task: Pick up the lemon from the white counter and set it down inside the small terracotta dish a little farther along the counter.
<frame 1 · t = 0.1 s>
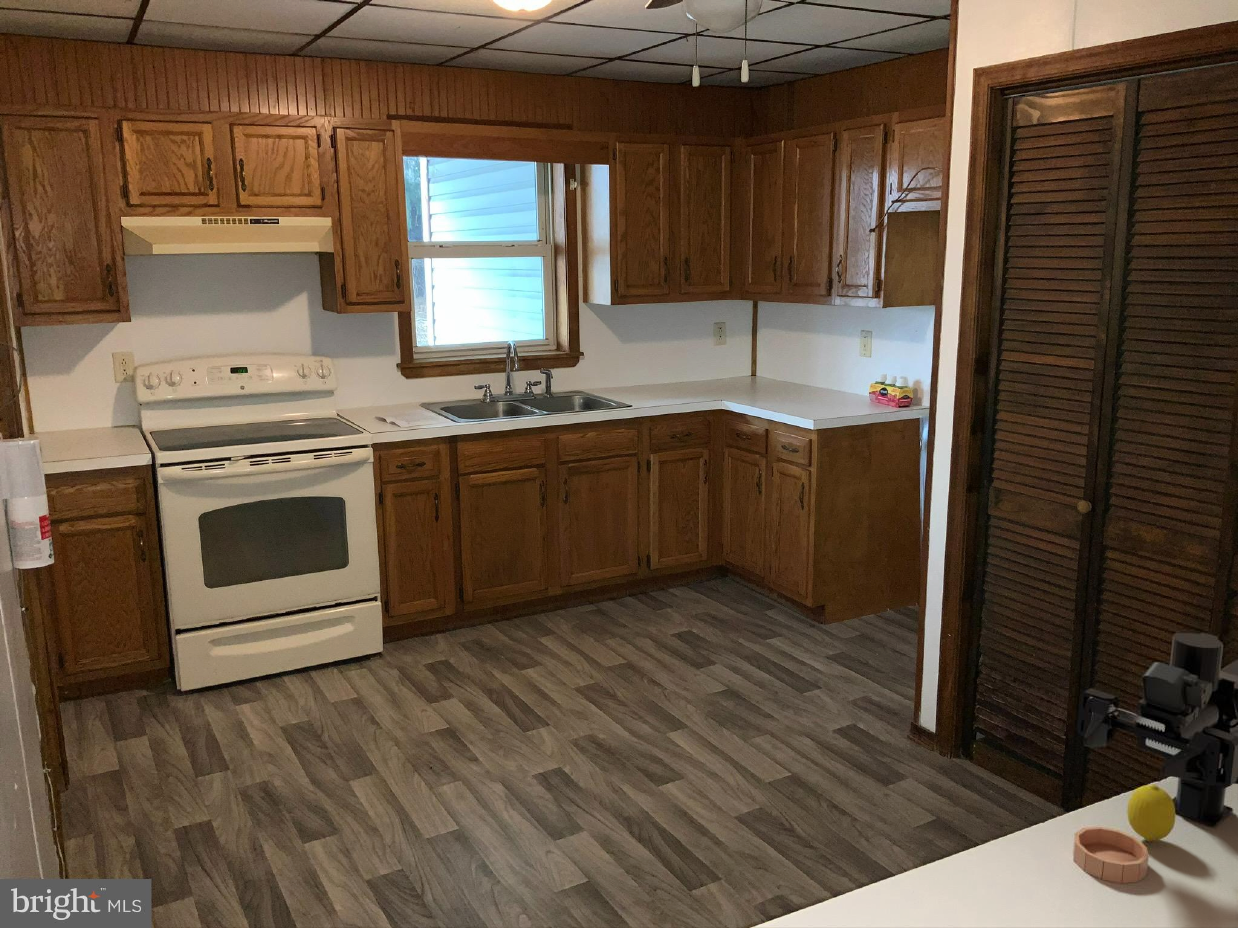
hand: (1122, 755, 121), 17 cm above the countertop, tool horizontal, fingers open, 9 cm apart
dish: (1109, 862, 127), on the countertop
lemon: (1148, 841, 132), on the countertop
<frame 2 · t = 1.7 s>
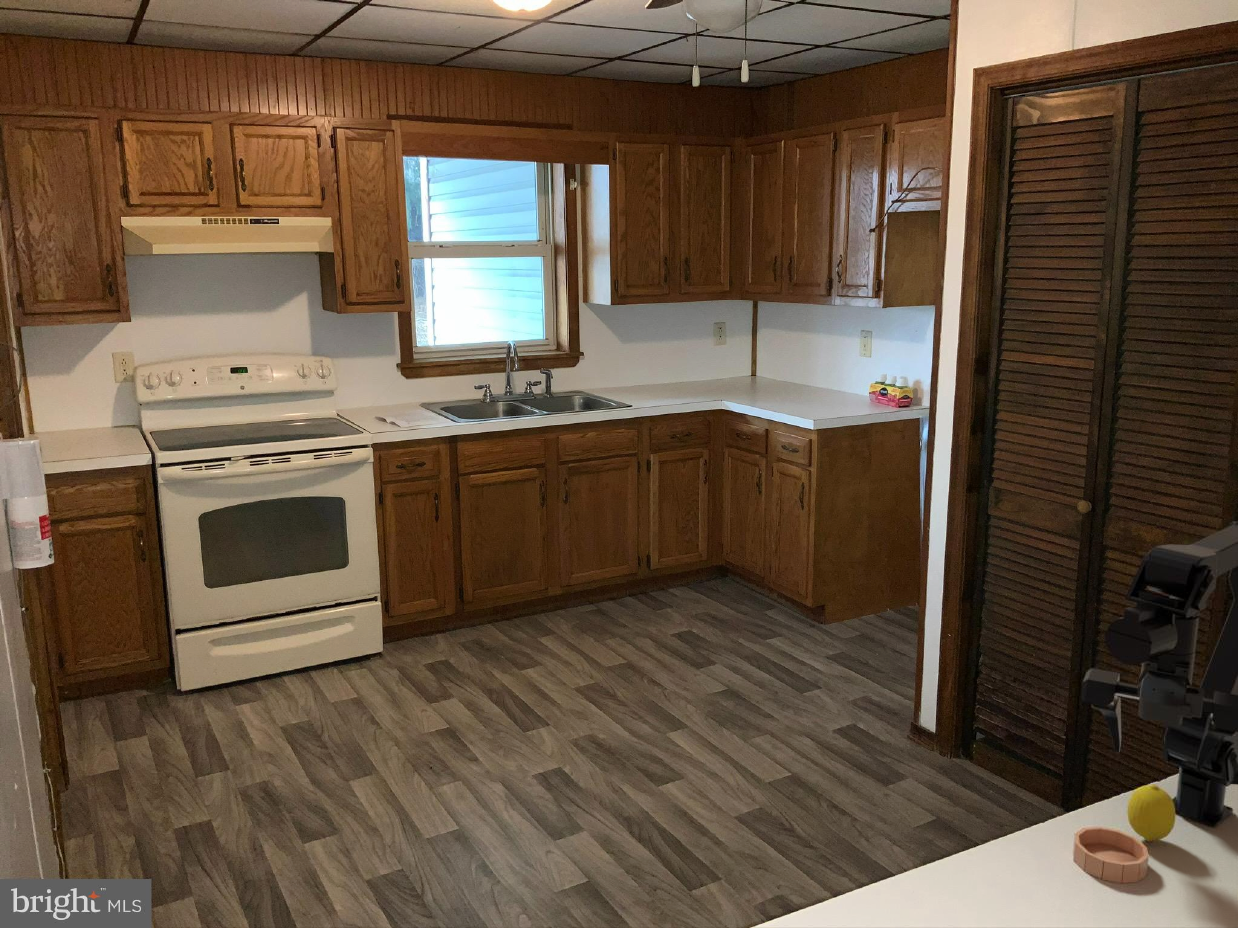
hand: (1157, 760, 130), 11 cm above the countertop, tool pointing down, fingers open, 9 cm apart
nothing on the countertop moved.
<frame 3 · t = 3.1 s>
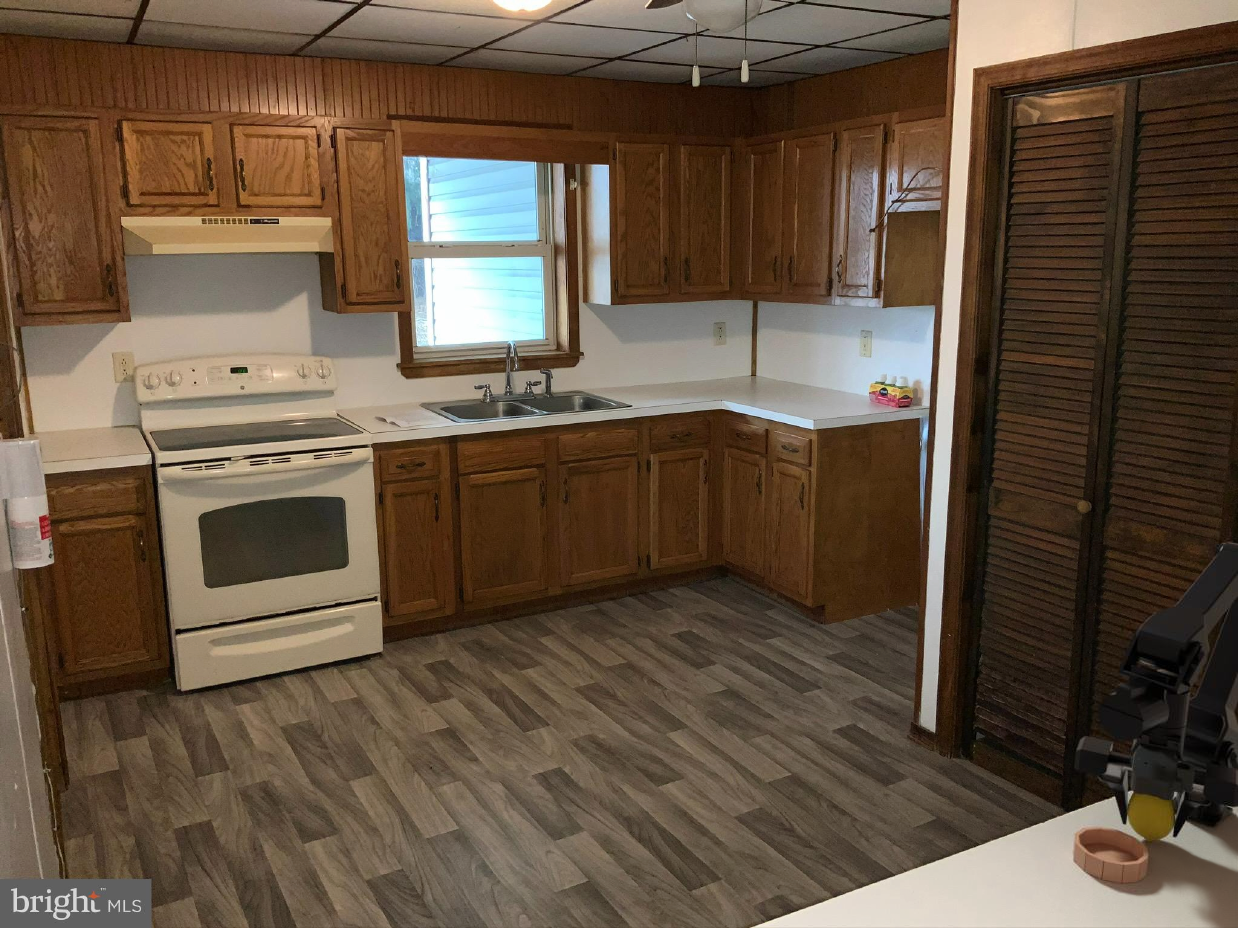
hand: (1149, 829, 132), 2 cm above the countertop, tool pointing down, fingers closed on lemon, 5 cm apart
lemon: (1148, 841, 132), on the countertop, touching gripper
when the fingers open (4 cm above the countertop, at t = 7.1 s): lemon drops 2 cm, resting on dish.
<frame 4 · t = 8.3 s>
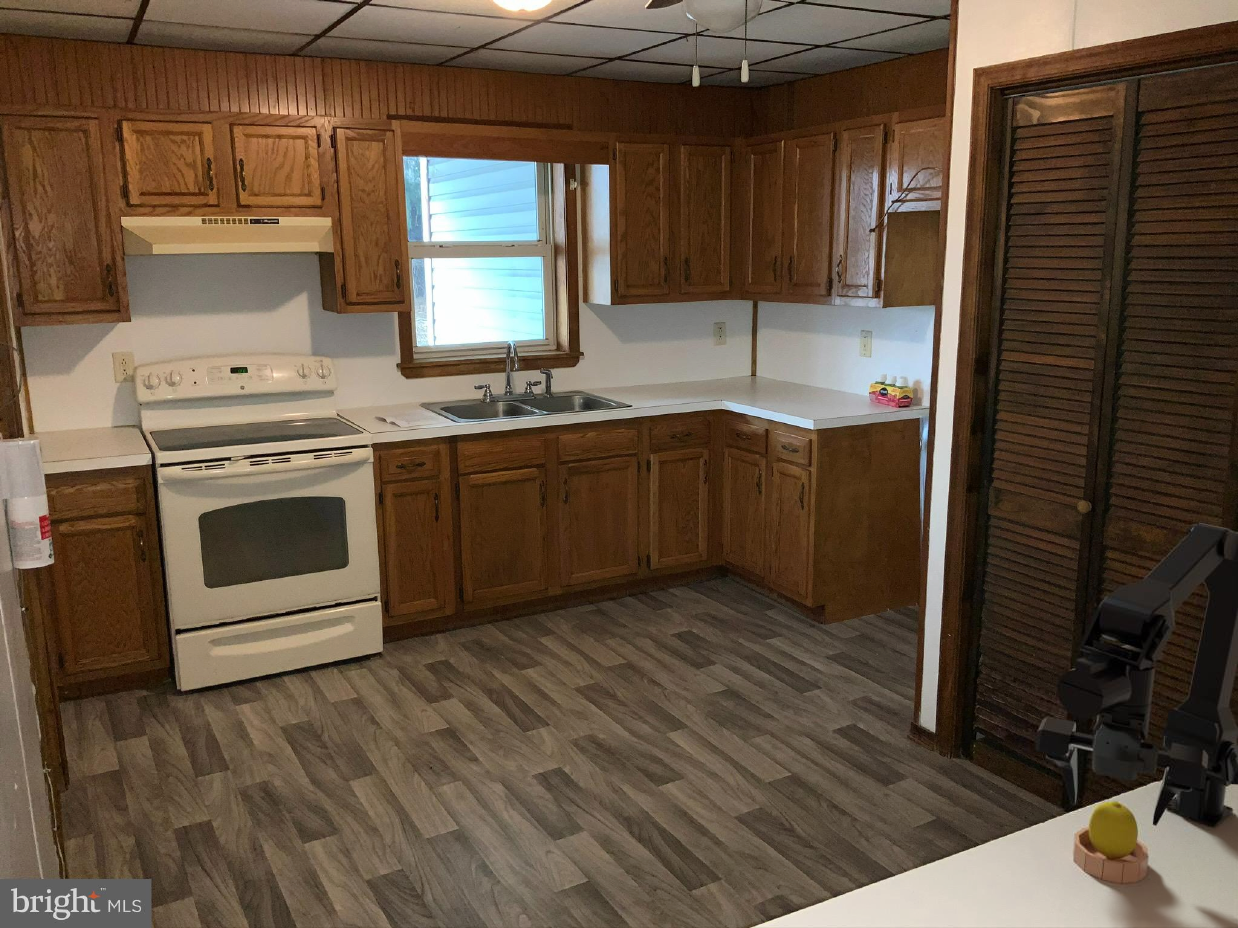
hand: (1113, 813, 126), 7 cm above the countertop, tool pointing down, fingers open, 9 cm apart
lemon: (1109, 860, 127), resting on dish
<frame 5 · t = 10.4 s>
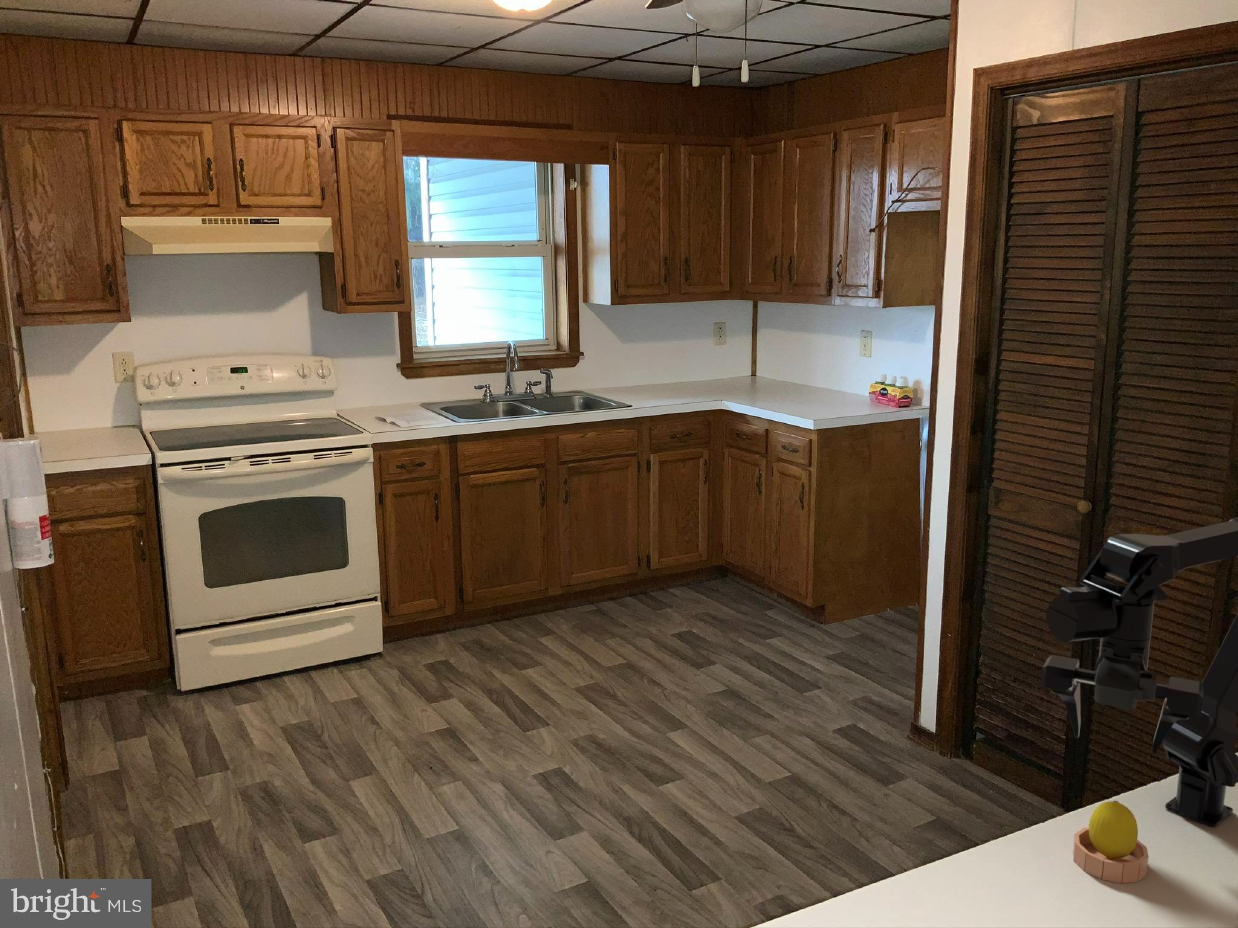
hand: (1114, 744, 133), 12 cm above the countertop, tool pointing down, fingers open, 9 cm apart
nothing on the countertop moved.
at the end: lemon 0.1 cm from the dish (horizontally); lemon touching dish; the gripper is holding nothing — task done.
